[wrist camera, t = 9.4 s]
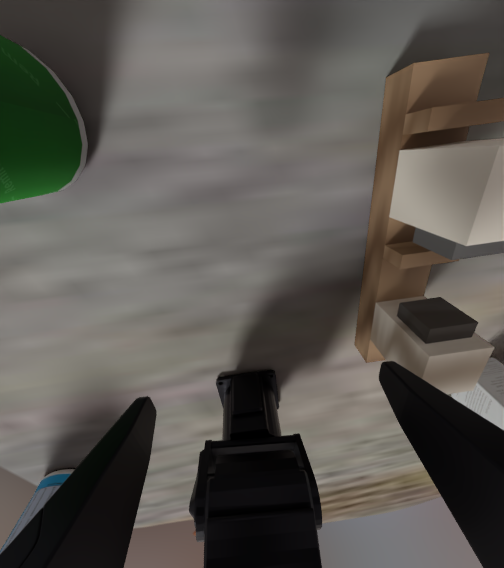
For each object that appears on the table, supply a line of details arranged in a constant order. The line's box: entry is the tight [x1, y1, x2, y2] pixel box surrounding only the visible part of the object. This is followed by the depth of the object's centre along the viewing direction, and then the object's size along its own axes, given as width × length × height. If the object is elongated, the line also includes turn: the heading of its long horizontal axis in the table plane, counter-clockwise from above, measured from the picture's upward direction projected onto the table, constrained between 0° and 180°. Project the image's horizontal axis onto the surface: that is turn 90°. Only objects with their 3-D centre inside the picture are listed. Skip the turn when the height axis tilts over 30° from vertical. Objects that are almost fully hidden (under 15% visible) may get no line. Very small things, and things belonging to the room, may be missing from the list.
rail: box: [355, 53, 504, 394], centre depth 16 cm, size 22×4×8 cm, turn 7°
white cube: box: [389, 138, 504, 260], centre depth 13 cm, size 5×4×6 cm
